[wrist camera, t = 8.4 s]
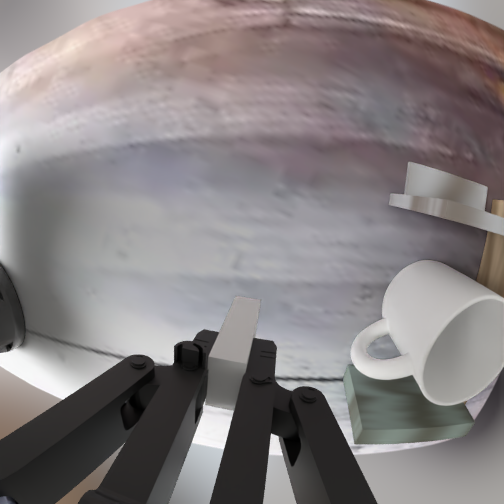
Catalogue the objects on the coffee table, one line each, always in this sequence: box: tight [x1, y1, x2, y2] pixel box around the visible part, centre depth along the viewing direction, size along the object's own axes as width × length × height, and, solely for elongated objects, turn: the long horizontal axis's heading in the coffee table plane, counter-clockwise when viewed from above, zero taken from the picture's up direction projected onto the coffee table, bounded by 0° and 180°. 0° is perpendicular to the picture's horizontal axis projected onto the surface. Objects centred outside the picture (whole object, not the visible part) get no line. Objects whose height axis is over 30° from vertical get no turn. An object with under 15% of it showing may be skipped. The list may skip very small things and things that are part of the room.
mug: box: [351, 260, 504, 406], centre depth 19 cm, size 12×8×10 cm
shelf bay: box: [343, 162, 504, 444], centre depth 18 cm, size 13×23×10 cm, turn 172°
